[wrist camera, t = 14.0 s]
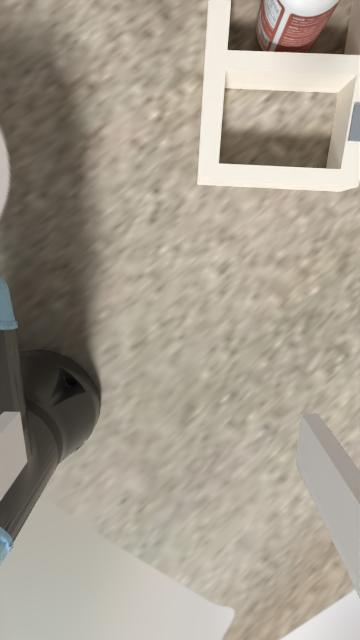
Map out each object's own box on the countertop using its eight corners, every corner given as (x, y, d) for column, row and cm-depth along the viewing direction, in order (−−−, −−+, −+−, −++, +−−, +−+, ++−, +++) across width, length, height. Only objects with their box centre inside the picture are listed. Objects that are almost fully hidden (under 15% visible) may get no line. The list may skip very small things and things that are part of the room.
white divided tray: (197, 184, 36) (197, 178, 32) (211, -46, 31) (214, -89, 27) (344, 191, 36) (363, 186, 32) (384, -40, 30) (415, -84, 26)
